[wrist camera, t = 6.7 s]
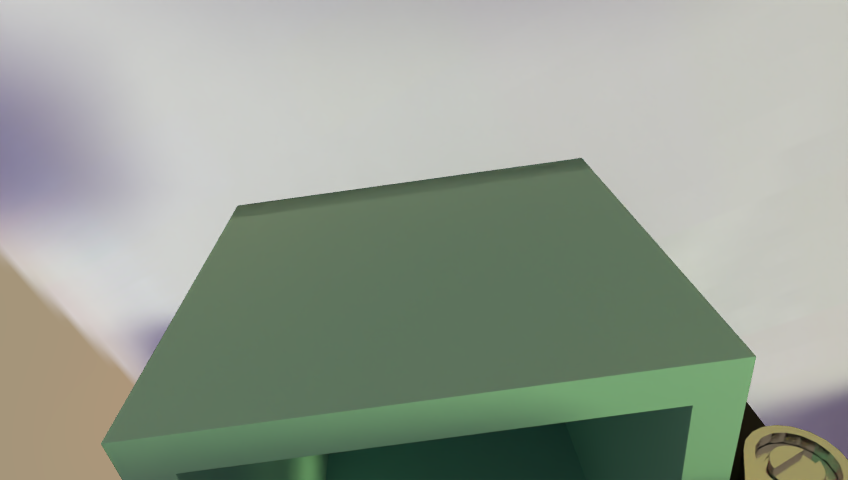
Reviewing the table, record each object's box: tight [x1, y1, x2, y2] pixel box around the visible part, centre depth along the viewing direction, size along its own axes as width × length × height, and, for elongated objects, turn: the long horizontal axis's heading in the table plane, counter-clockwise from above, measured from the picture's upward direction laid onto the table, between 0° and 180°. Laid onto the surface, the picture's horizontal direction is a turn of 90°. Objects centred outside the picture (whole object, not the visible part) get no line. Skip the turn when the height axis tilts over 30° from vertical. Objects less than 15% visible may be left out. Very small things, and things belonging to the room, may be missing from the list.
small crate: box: [101, 158, 756, 480], centre depth 10 cm, size 7×7×6 cm
